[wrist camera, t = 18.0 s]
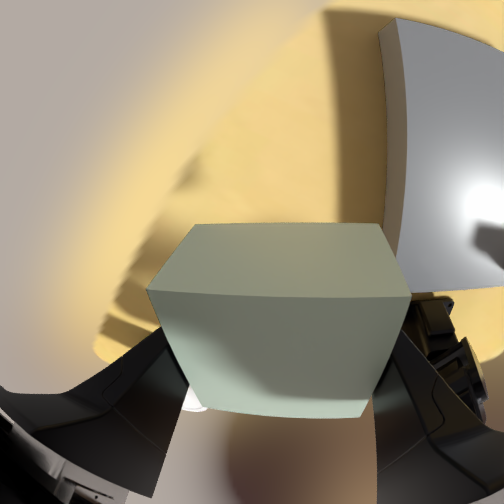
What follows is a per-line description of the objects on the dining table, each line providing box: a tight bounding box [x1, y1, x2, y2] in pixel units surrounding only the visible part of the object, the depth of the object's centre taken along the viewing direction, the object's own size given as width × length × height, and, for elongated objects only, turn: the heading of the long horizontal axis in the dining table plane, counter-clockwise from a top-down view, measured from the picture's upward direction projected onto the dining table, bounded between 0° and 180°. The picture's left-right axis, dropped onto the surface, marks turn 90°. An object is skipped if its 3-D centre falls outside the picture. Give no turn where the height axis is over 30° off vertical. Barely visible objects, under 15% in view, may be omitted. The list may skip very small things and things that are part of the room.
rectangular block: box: [146, 223, 412, 418], centre depth 8 cm, size 6×6×4 cm
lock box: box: [378, 18, 504, 293], centre depth 13 cm, size 18×14×4 cm
